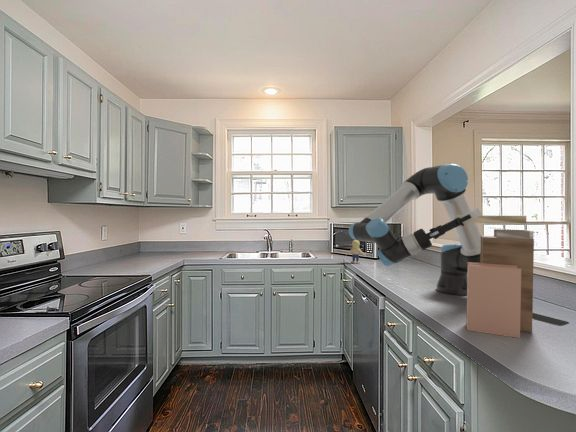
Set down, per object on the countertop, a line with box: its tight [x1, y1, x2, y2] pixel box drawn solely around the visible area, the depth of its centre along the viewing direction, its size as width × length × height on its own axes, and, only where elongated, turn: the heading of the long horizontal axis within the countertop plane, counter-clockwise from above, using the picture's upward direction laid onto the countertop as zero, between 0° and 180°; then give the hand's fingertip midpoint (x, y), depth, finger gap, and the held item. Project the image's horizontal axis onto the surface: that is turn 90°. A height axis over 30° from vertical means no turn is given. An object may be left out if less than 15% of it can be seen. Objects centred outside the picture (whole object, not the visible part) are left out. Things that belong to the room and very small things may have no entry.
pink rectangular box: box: [466, 262, 521, 339], centre depth 104 cm, size 7×14×21 cm, turn 63°
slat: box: [456, 215, 527, 224], centre depth 112 cm, size 4×20×2 cm, turn 63°
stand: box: [480, 228, 535, 333], centre depth 110 cm, size 9×14×32 cm, turn 63°
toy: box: [345, 239, 366, 264], centre depth 243 cm, size 15×7×18 cm, turn 79°
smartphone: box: [532, 312, 570, 327], centre depth 117 cm, size 7×1×15 cm
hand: (479, 211), depth 113 cm, fingers closed on slat, 4 cm apart
